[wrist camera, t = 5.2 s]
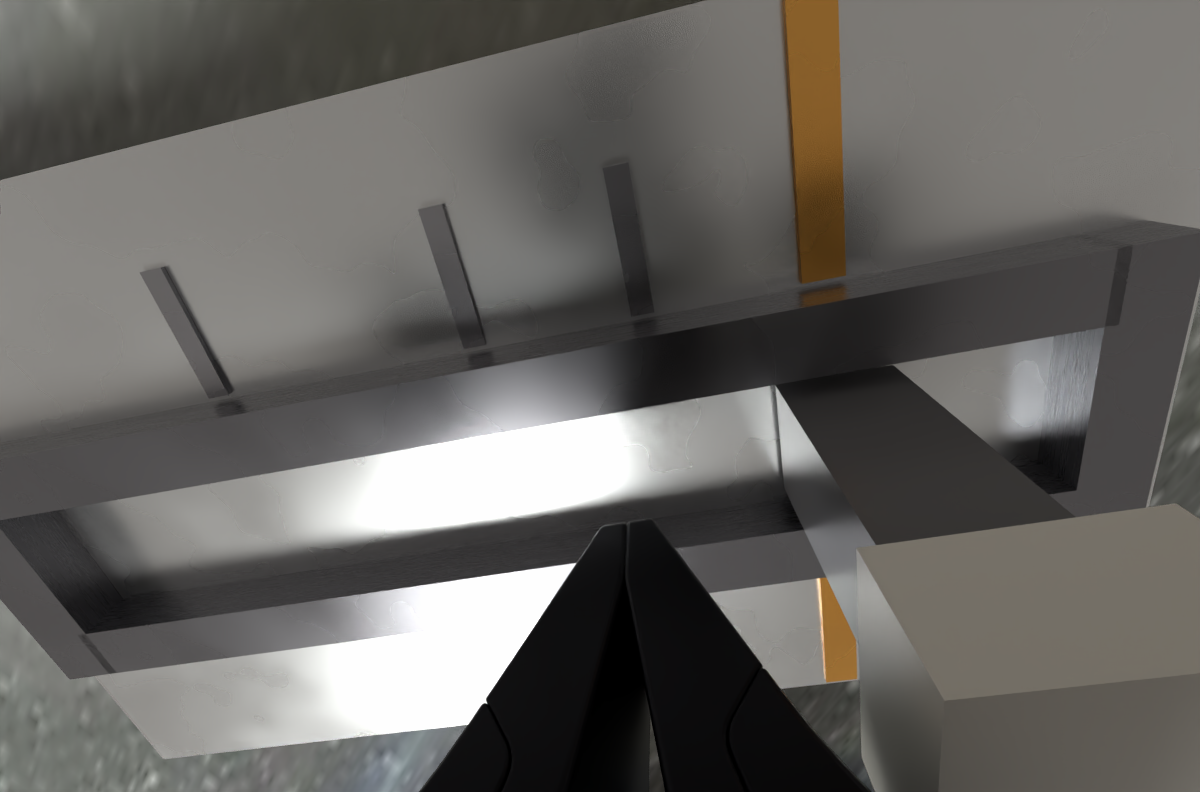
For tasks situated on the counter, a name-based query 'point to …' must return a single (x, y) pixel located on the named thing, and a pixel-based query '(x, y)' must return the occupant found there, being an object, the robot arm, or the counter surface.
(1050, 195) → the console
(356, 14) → the counter surface
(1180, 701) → the fader tab
